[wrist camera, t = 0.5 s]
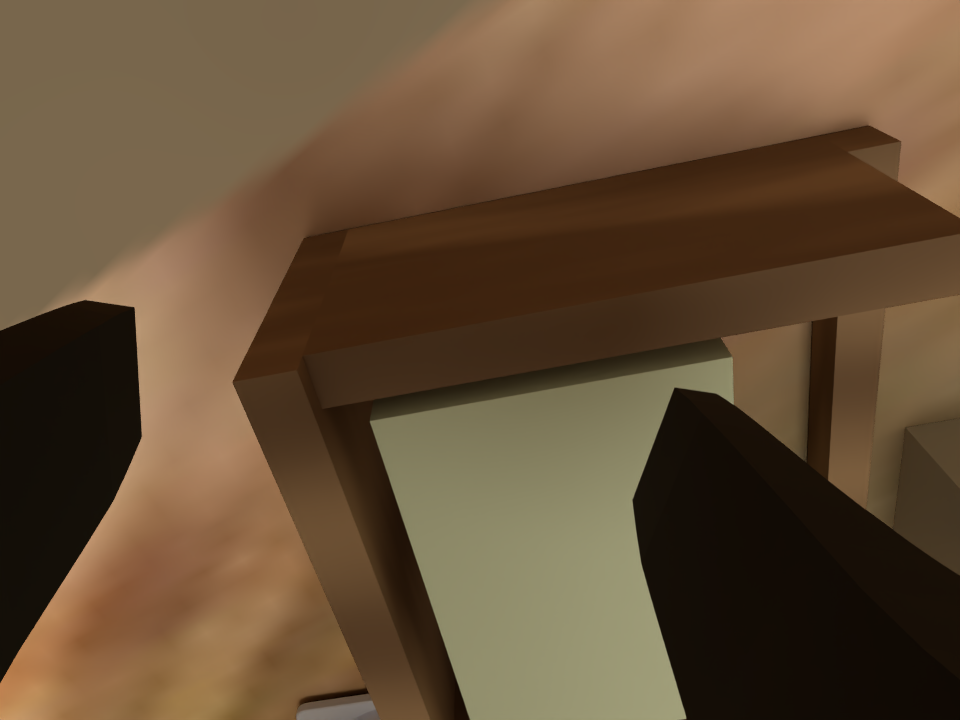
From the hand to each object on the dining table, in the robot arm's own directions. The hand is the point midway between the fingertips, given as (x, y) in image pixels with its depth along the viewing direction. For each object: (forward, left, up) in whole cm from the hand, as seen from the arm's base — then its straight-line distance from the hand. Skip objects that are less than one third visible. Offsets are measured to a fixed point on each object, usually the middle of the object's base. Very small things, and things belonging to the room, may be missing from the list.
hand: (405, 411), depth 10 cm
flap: (-8, -2, -4) cm, 9 cm away
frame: (-8, -4, -10) cm, 13 cm away
